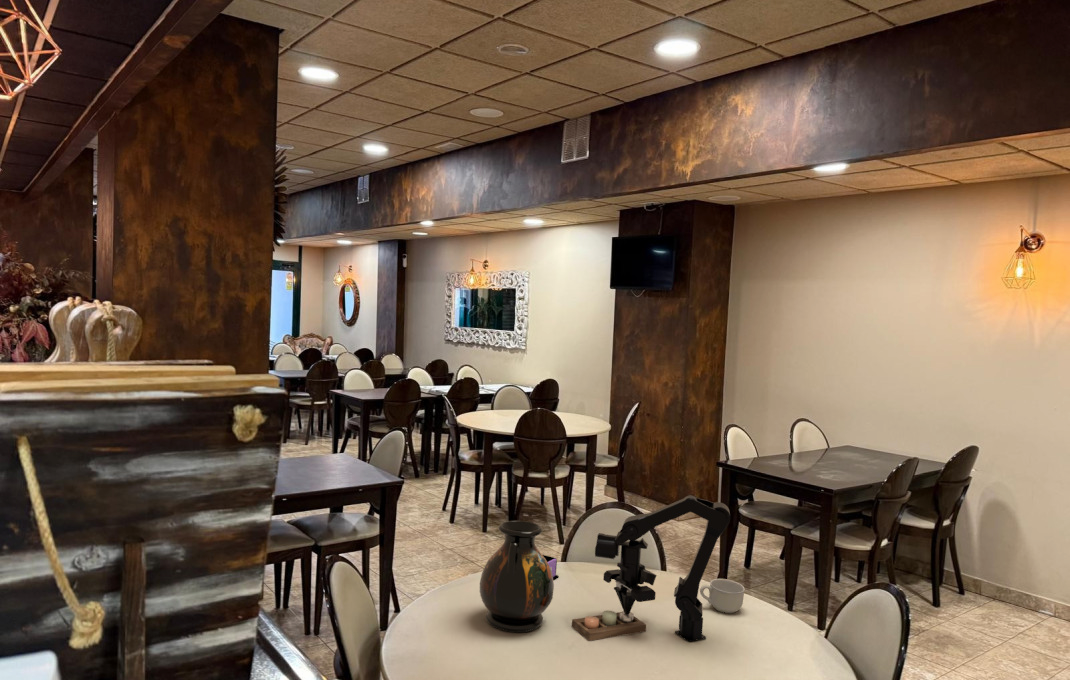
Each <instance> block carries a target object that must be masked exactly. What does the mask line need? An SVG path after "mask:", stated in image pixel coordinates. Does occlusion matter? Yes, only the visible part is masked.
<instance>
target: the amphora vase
mask: <svg viewBox="0 0 1070 680" xmlns="http://www.w3.org/2000/svg"><path fill="white" fill-rule="evenodd" d="M497 529H498V531H499V532H501V534H503V535H504V541H503V543H502V545H501V546H499V548H498V549H497V550H496V551H495V552H494V553H492V555H491V556H490V557H489V558H488V560H487V562H486V563H485V566H484V567H483V570H482V573H481V576H480V581H479V594H480V595H479V596H480V597H481V601H482V603H483V605H484V606H485V608H486V609H487V610H488V611H487V613H486V615H485V616H486V620H487V622H488V623H489V624H490V626H492V627H494V628H495V629H498V630H500V631H504V632H509V633H526V632H530V631H533V630H536V629H538V628H539V627H540V626H541V625H542V624H543V621H544V616H543V613H545V611H546V610H547V609H548V607H549V606H550V605H551V603H552V601H553V599H554V597H553V596H554V589H555V588H554V587H555V584H554V581H553V575H552V571H551V569H550V566H549V564H548V562H547V561H546V559H545V558H544V557H543V555H544V554H542V553H541V552H540V550H539V549H538V548H537V545H536V543H535V542H536V541H535V540H536V536H539V535H541V534H542V533H543V527H542V526H541V525H540V524H538V523H536V522H531V521H527V520H526V521H525V520H507V521H504V522H501V523H500V524H499V525H498V527H497Z"/></svg>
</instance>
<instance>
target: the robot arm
mask: <svg viewBox="0 0 1070 680" xmlns="http://www.w3.org/2000/svg"><path fill="white" fill-rule="evenodd" d="M688 513H692V514H695V515H696V516H698V517H700V518H702V519H703V520H706V523H705V524H706V526H705V531H704V533H703V535H702V539H701V541H700V543H699V546H698V548H697V551H696V553H695V555H694V559H693V561H692V563H691V566H690V568H689V571H688V574H687V575H686V576H685V577H684V578H683V577H681V576H679V578H678V583H677V585H675V586H676V587H675V588H674V592H673V597H674V599H675V600H674V604H675V607H676V608H677V609H678V610H679V611H680V613H679V620H678V622H679V623H678V630H675V631H674V633H675V634H676V635H678V636H679V637H681V638H682V639H683V640H685V641H687V642H689V643H691V642H696V641H702V640H706V639H707V636H706V635H704V634H703V627H704V625H703V623H704V617H703V603H702V601H700V599H699V598H698V595H699V590H700V584H701V580H702V578H703V575H704V574H705V570H707V566H708V563H709V561H710V558H711V556H712V553H713V551H714V548H715V546H716V544H717V542H718V539H719V538H720V537H721V536H722V534H723V533H724V531H725V530H726V529H727V527H728V526H729V524H730V522H731V513H730V509H729V507H728V506H727V505H726V504H725V503H723V502H714V501H713V502H712V501H710V500H707V499H703V498H698V497H697V496H694V495H692V494H690V495H687V496H685V497H684V498H682V499H680V500H677V501H675V502H673V503H669V504H668V505H665V506H663V507H661V508H658V509H655V510H653V511H651V512H647V513H639V514H635V515H630V516H628V517H627V518H626V519H625V520H624V522H623V524H622V527H621V529H620V530H619V531H618V532H617V534H616V535H612V534H605V533H601V532H599V533H598V534H597V536H596V537H597V538H596V543H595V548H594V555H595V558H602V559H609V560H610V559H611V560H615V558H617V557H619V555H620V559H619V561H620V562H617V563H616V567H618V568H619V569H609V570H605V572H604V573H603V581H604V582H606V583H609V584H610V583H611V582H612V580H614V581H615V583H616V584H615V586H614V587H613V590H614V591H615V593H616V596H617V598H618V600H619V603H620V605H621V608H622V611H624V613H625V614H626V615H627V614H629V613H630V612H631V611H632V609H633V607H634V604H635V602H638V603H643V602H650V601H655V600H656V594H657V593H656V591H655V590H654V589H653V588H651V587H650V586H654V584H655V581H656V577H657V574H655V573H653V572H652V571H650V570H648V569H646V566H645V565H644V564H642V563H641V554H642V549H643V550H647V549H648V546H649V544H648V543H647V541H645V539H644V537H643V536H644V535H646V534H647V533H649V532H650V531H651V530H652V529H654V528H656V527H658V526H661V525H663V524H665V523H668V522H670V521H672V520H675V519H676V518H679V517H681V516H683V515H687V514H688ZM641 537H643V538H641ZM640 538H641V539H640ZM620 548H621V549H620ZM644 583H645V584H650V586H648V585H644Z"/></svg>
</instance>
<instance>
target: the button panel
mask: <svg viewBox="0 0 1070 680" xmlns="http://www.w3.org/2000/svg"><path fill="white" fill-rule="evenodd" d="M620 612H621V611H618V612H616V613H617V617H616V625H613V626H605V625H604V624H602V617H603V614H599V615H592V616H593V617H596V618H598V619H599V626H598V628H595V629H587V628H586V627H585V626H584V624H585V617H580V618H579V617H578V618H574V619H571V628H573V629H574V630H576V631H577V632H578V633H579V634H580V635H582V636H583V637H585V638H586V639H587V640H588V641H589V642H590V641H596V640H603V639H608V638H615V637H620V636H626V635H627V636H628V635H632V634H637V633H643V632H644V633H645V632H646V630H647V624H646V623H645V622H643V621H641V620H640V619H639V618H638V617H636V616H633V622H632V623H626V624H624V623H622V622H621V621H619V619H620Z"/></svg>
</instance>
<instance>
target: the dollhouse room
mask: <svg viewBox="0 0 1070 680" xmlns="http://www.w3.org/2000/svg"><path fill="white" fill-rule="evenodd" d="M542 555H543V557H544V558H545V559H546V561H547V562H548V564H549V566H550V569H551V571H552V575H553V582H554V581H555V580H556V581H557V579H559V577H560V576H559V575H558V574H557V563H558V561H557V558H556V557H554V556H550V555H544V554H542Z"/></svg>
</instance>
